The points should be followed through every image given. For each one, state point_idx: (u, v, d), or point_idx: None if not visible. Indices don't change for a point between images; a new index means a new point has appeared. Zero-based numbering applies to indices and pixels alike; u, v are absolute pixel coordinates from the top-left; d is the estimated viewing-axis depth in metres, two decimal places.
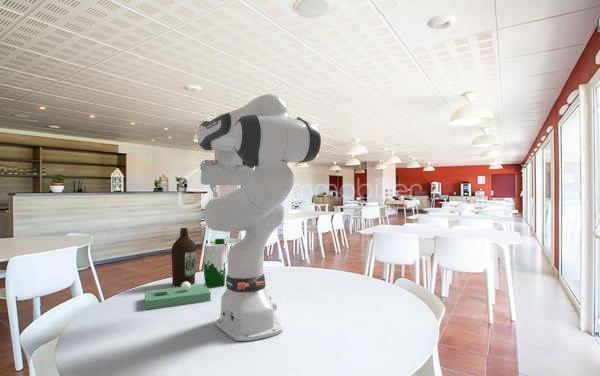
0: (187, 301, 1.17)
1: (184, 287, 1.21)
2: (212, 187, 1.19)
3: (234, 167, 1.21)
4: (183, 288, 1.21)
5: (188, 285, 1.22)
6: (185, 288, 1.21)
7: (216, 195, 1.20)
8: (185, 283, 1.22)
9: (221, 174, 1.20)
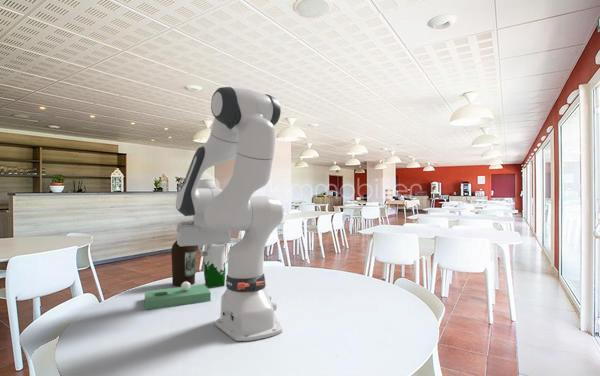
0: (187, 301, 1.17)
1: (184, 287, 1.21)
2: (199, 247, 1.25)
3: (210, 227, 1.25)
4: (183, 288, 1.21)
5: (188, 285, 1.22)
6: (185, 288, 1.21)
7: (203, 254, 1.26)
8: (185, 283, 1.22)
9: (197, 235, 1.24)
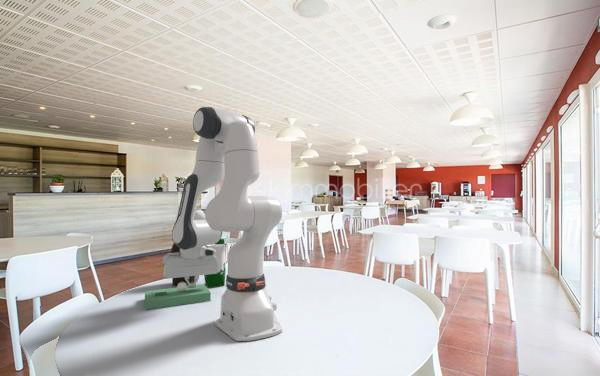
0: (187, 301, 1.17)
1: (181, 288, 1.20)
2: (186, 279, 1.22)
3: (197, 258, 1.22)
4: (181, 290, 1.21)
5: (183, 285, 1.21)
6: (182, 289, 1.21)
7: (190, 286, 1.23)
8: (179, 285, 1.21)
9: (184, 266, 1.21)
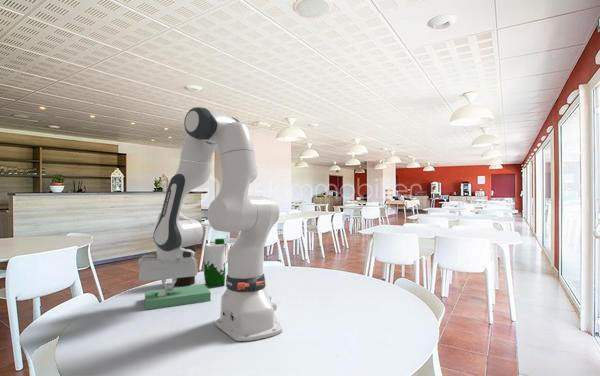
0: (187, 301, 1.17)
1: None
2: (163, 281, 1.18)
3: (174, 260, 1.19)
4: (160, 295, 1.18)
5: None
6: None
7: (167, 289, 1.19)
8: (165, 294, 1.19)
9: (160, 269, 1.18)
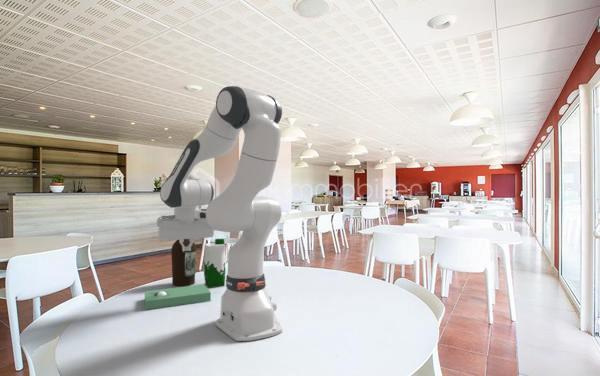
0: (187, 301, 1.17)
1: None
2: (181, 241, 1.21)
3: (191, 221, 1.22)
4: (159, 295, 1.18)
5: None
6: None
7: (185, 249, 1.22)
8: (165, 294, 1.19)
9: (178, 229, 1.21)
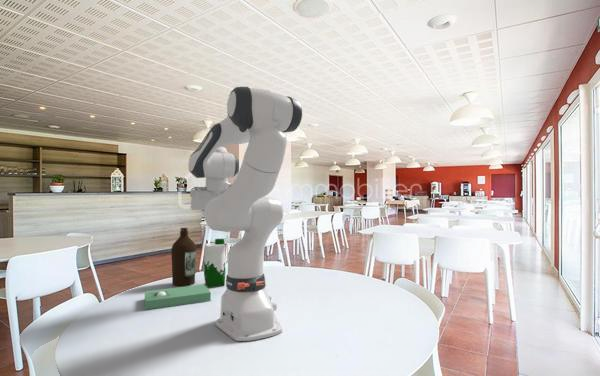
0: (187, 301, 1.17)
1: None
2: None
3: (222, 192, 1.29)
4: (159, 295, 1.18)
5: None
6: None
7: None
8: (164, 294, 1.19)
9: (210, 199, 1.28)
